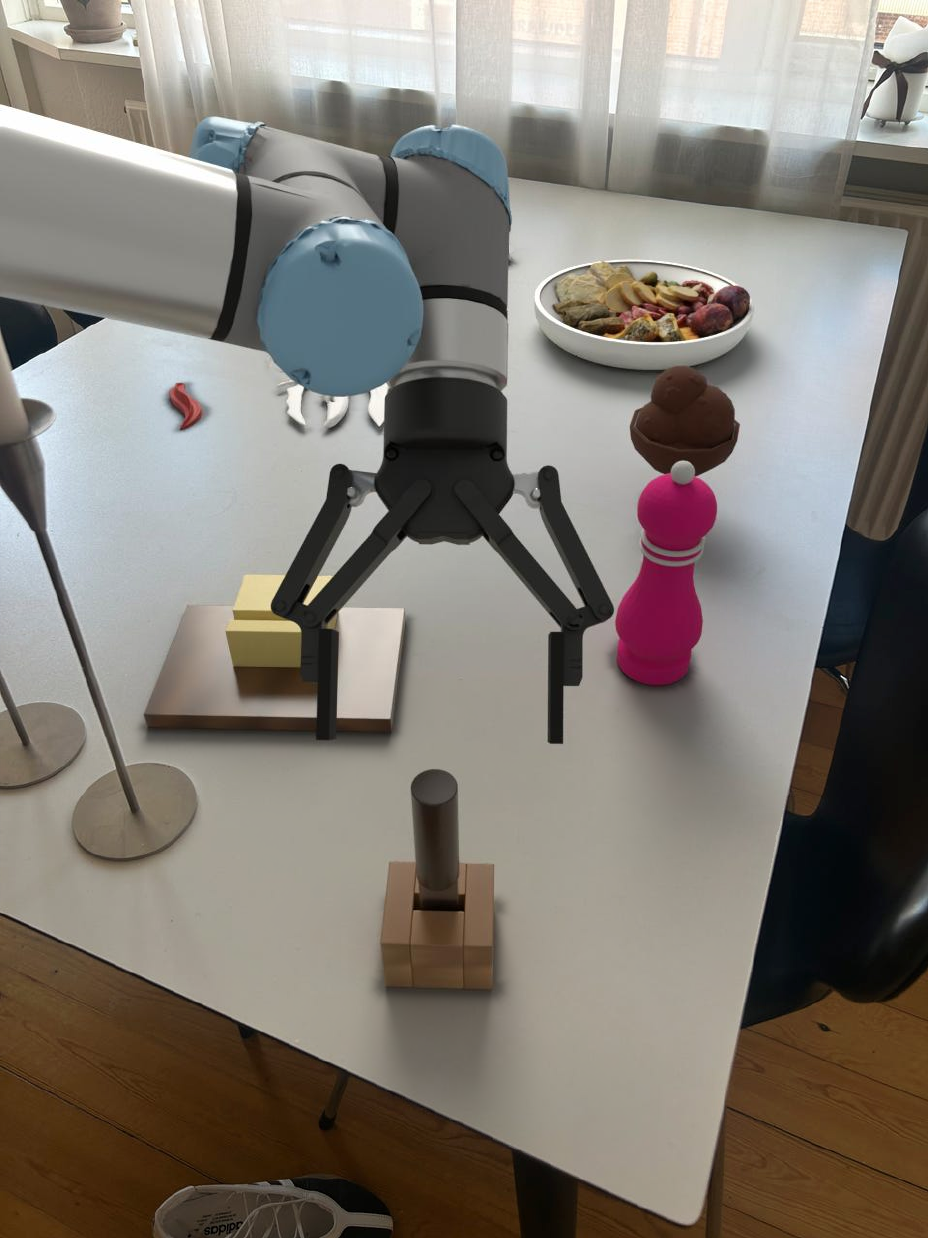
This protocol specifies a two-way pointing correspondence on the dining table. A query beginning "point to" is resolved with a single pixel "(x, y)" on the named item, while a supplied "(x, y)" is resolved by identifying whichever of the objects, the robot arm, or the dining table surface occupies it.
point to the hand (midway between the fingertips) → (440, 742)
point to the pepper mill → (666, 578)
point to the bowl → (643, 313)
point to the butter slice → (264, 643)
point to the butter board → (277, 677)
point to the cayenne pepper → (185, 405)
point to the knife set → (334, 404)
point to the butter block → (268, 597)
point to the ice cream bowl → (685, 423)
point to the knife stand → (438, 932)
